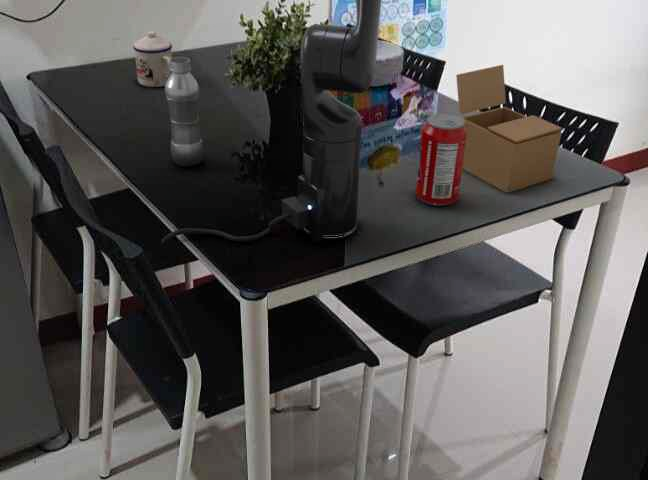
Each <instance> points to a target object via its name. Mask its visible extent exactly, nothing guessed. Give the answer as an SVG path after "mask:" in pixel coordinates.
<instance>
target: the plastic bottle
mask: <svg viewBox="0 0 648 480" xmlns="http://www.w3.org/2000/svg"><path fill="white" fill-rule="evenodd" d="M170 71H171V72H172V74H171V75H170V77H169V78H168V80H167V82H166V85H165V86H164V93H165V97H166V102H167V106H168V110H169V117H170V124H171V125H170V128H171V129H170V130H171V132H170V133H171V134H170V135H171V140H170V155H171V158H172V160H173V162H174V163H175V164H176V165H177V166H182V167H194V166H196V165H197V166H198V165H199V164H200V163H202V161H203V160H204V157H205V147H204V141H203V139H202V134H201V127H200V118H199V115H200V114H199V104H200V86H199V83H198V81H197V80H196V79H195V77H194V76H193V75H192V73H191V71H192V66H191V61H190V58H188V57H185V56H175V57H172V58H171V59H170Z"/></svg>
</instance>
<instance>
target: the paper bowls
mask: <svg viewBox="0 0 648 480" xmlns="http://www.w3.org/2000/svg"><path fill="white" fill-rule="evenodd" d="M404 55H405V51H404V49H403V48H402V46H400V45H398V44H396V43H393V42H391V41H386V40H379V39H378V45H377V55H376V64H375V70H374V75H373V79H372V82H371V85H370V87H373V88H375V87H382V86H386V85H388V84H389V83H391V82H392V81H393V79H394V77H395V76H398V75H400V74H401V73H402V72H403V69H404Z"/></svg>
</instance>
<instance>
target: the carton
mask: <svg viewBox="0 0 648 480" xmlns="http://www.w3.org/2000/svg"><path fill="white" fill-rule="evenodd" d="M461 118H462V119H463V120H464V121H465V124H464V125H465V127H466V129H467V139H466V146H465V154H464V161H463V168H462V170H464V171H466V172H468V173H469V174H471V175H474V176H475V177H477V178H479V179H481V180H483V181H484V182H486V183H488V184H489V185H491V186H493V187H495V188H497V189H499V190H500V191H503V192H504V193H506V194H508V193H511V192H514V191H518V190H520V189H524V188H528V187H531V186H533V185H537V184H539V183H543V182H546V181H549V180H552V178H553V174H554V169H555V165H556V160H557V157H558V156H557V155H558V151H559V146H560V141H561V138H562V133H563V132H562V130H563V127H560V126H559V125H556V124H555V123H552V122H550V121H548V120H545V119H543V118H541V117H538V116H537V115H534V114H533V115H528V116H526V115H524V114H523V113H520V112H518V111H515V110H513V109H511V108H509V107H507V106H502V107H498V108H495V109H494V108H493V109H491V110H487V111H482V112H479V113H478V112H477V113H474V114H470V115H466V116H462V117H461Z"/></svg>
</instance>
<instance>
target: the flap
mask: <svg viewBox="0 0 648 480" xmlns="http://www.w3.org/2000/svg"><path fill="white" fill-rule="evenodd" d="M504 70H505V69H504V64H500V65H495V66H491V67H486V68H482V69H477V70H472V71H468V72H461V73H457V74H456V75H455V76H456V89H457V99H458V113H459V115H464V114H468V113H472V112H476V111H477V112H478V111H481V110H484V109H485V110H486V109H489V108H492V107H497V106H501V105H505V104H506V103H507V101H506V88H505V87H506V86H505V71H504Z"/></svg>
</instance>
